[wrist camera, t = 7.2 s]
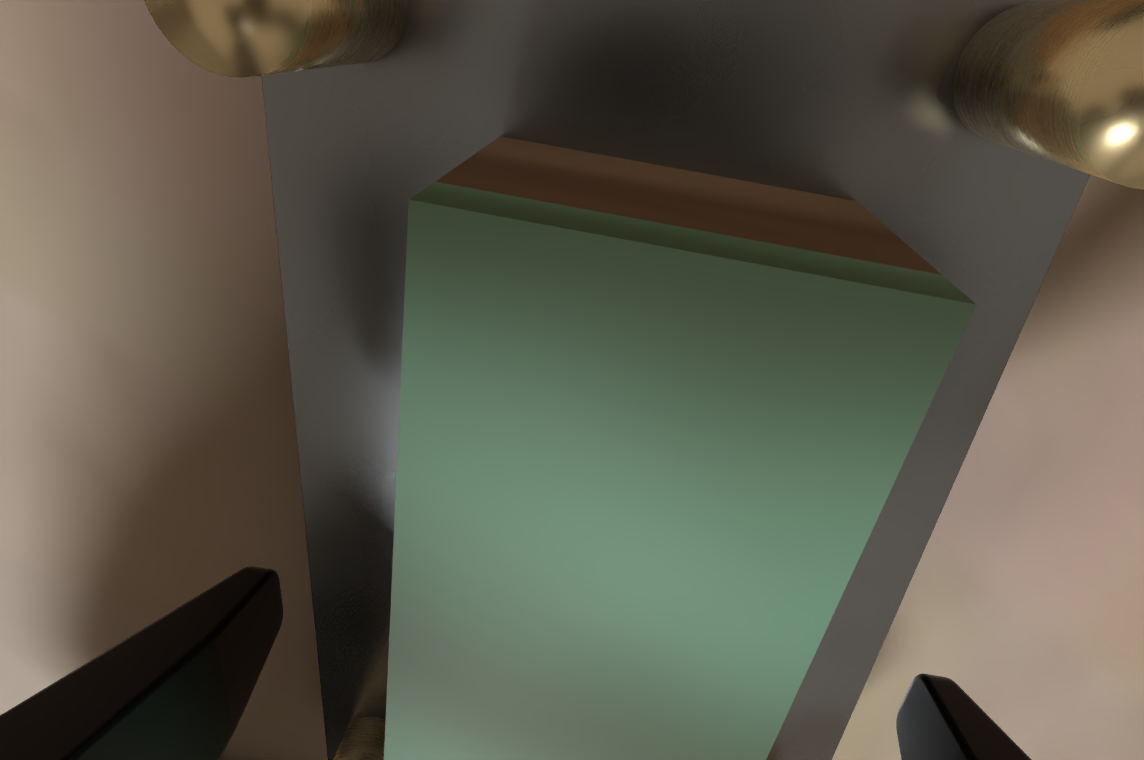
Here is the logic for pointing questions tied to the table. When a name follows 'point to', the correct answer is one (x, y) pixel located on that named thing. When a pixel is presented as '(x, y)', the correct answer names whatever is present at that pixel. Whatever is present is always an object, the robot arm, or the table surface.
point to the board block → (638, 451)
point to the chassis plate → (673, 139)
